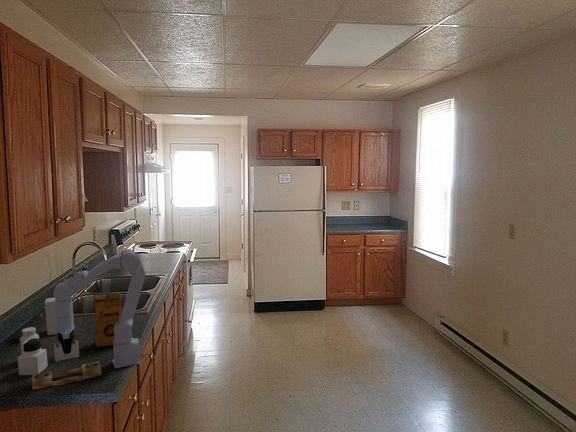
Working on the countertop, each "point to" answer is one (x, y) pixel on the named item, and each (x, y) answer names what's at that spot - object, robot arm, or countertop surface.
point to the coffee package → (106, 317)
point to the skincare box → (50, 315)
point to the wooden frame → (46, 377)
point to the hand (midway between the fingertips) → (67, 351)
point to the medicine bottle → (32, 358)
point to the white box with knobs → (61, 356)
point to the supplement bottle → (28, 335)
